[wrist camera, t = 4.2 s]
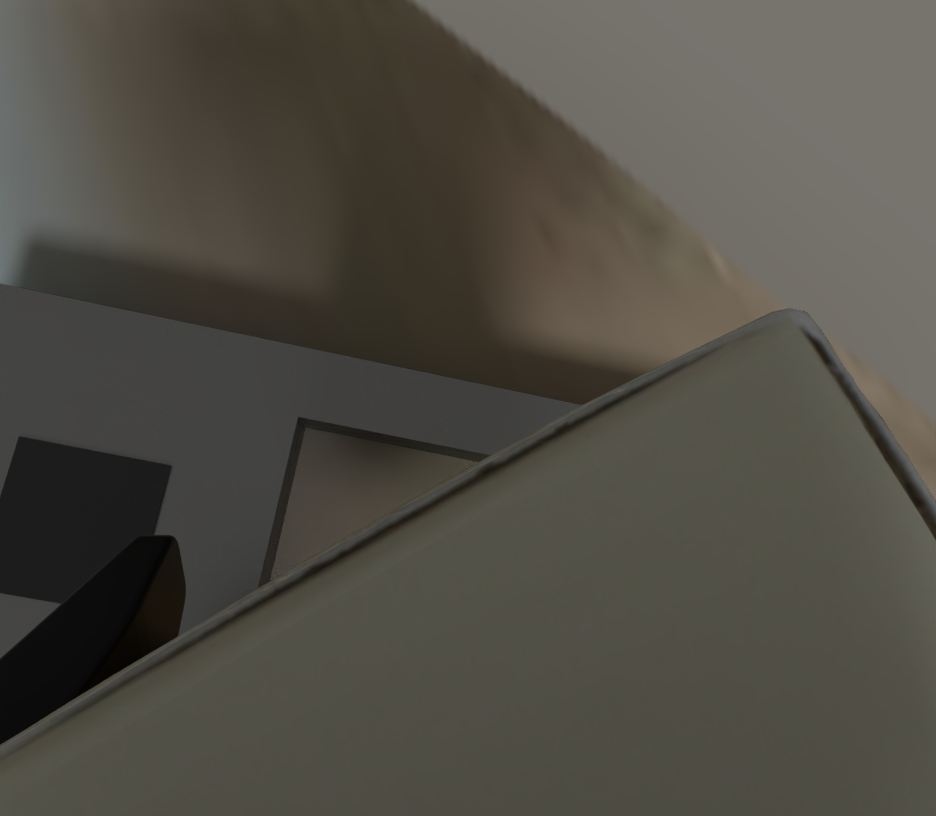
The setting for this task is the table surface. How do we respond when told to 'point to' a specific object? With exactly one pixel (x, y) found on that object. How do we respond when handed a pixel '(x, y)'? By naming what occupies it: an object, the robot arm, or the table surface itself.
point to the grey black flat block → (189, 443)
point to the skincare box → (566, 630)
